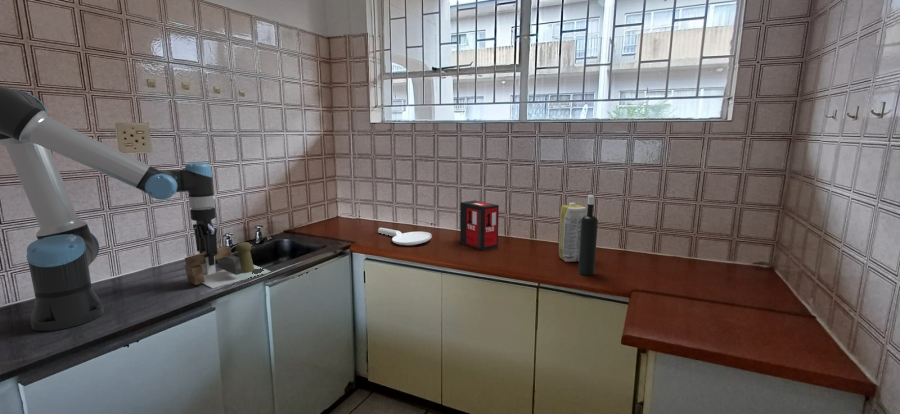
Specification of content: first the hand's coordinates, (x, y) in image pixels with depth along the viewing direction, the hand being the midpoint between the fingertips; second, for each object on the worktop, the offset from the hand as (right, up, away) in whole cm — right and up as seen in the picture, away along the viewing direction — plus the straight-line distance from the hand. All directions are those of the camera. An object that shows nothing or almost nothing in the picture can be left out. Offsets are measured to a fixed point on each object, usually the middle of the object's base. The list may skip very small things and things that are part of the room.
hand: (209, 272), depth 145 cm
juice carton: (+137, +1, +26) cm, 139 cm away
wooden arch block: (+1, -1, +1) cm, 2 cm away
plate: (+5, -2, +7) cm, 8 cm away
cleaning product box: (+99, +5, +48) cm, 110 cm away
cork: (+8, -1, +11) cm, 13 cm away
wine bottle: (+138, -2, +9) cm, 138 cm away
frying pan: (+62, +7, +59) cm, 86 cm away
